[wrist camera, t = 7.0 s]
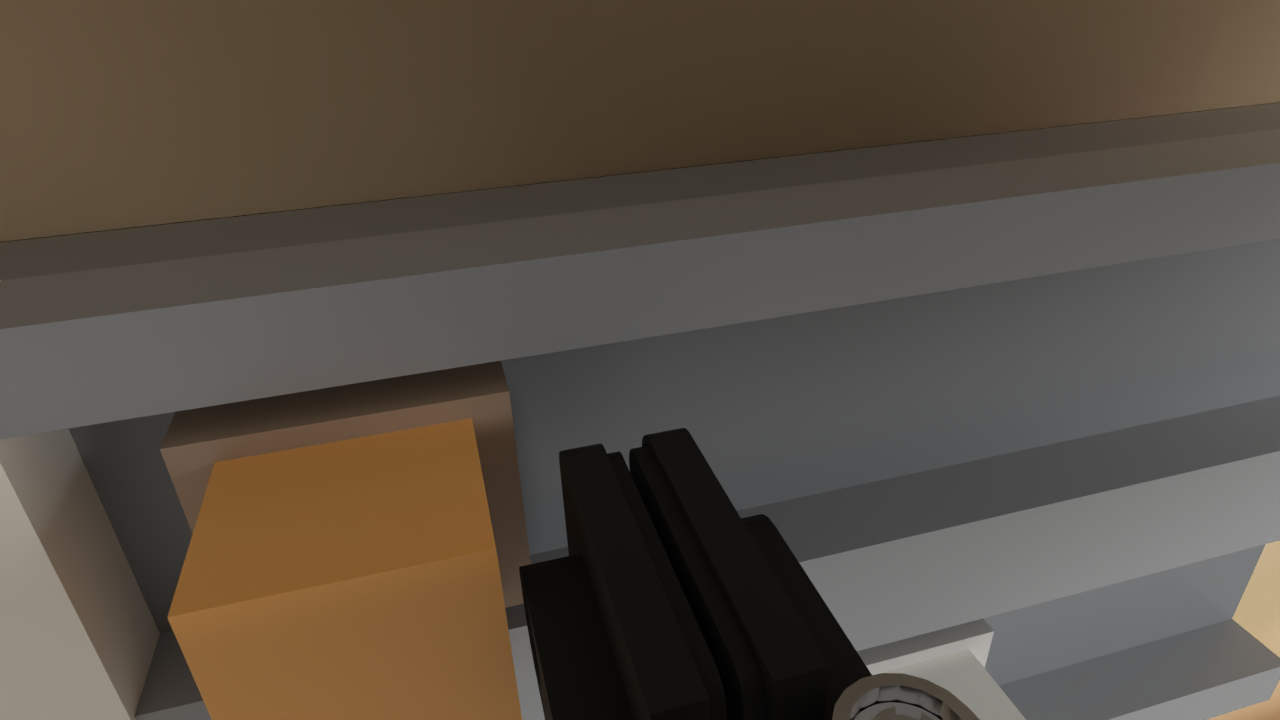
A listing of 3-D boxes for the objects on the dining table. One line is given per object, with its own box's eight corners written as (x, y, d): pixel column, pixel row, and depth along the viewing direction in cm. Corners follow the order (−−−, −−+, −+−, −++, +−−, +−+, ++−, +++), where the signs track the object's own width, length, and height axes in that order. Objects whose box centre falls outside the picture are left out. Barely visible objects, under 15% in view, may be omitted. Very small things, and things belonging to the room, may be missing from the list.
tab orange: (497, 348, 11) (543, 515, 8) (523, 547, 13) (569, 748, 10) (181, 396, 10) (94, 605, 7) (255, 603, 12) (211, 843, 9)
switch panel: (1375, 92, 16) (1588, 129, 13) (1169, 611, 23) (1281, 709, 20) (-658, 314, 9) (-1119, 489, 6) (-80, 959, 16) (-179, 1181, 13)
